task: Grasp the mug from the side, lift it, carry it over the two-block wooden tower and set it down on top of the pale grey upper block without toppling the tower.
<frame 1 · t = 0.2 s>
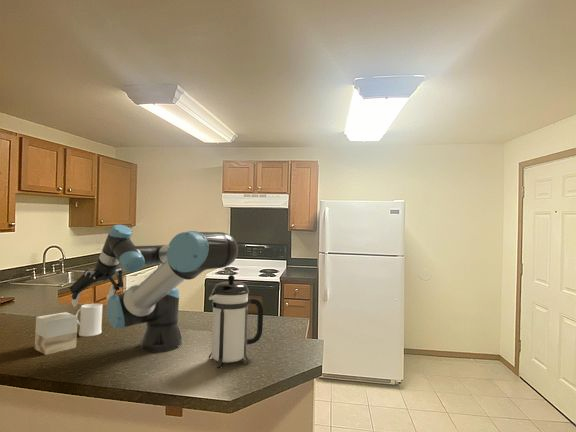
hand: (91, 302, 137), 15 cm above the counter, tool tilted 35°, fingers open, 13 cm apart
coffee press: (231, 360, 118), on the counter
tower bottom: (55, 348, 126), on the counter, touching tower top
mug: (87, 333, 144), on the counter
tower top: (56, 332, 126), point 6 cm above the counter, touching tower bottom
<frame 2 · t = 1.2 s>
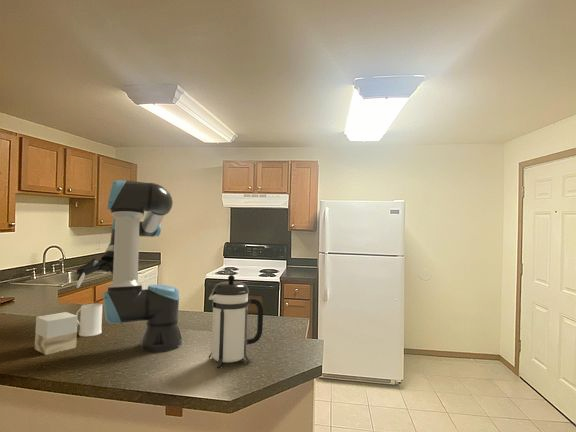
hand: (95, 288, 142), 20 cm above the counter, tool tilted 55°, fingers open, 13 cm apart
nothing on the counter moved.
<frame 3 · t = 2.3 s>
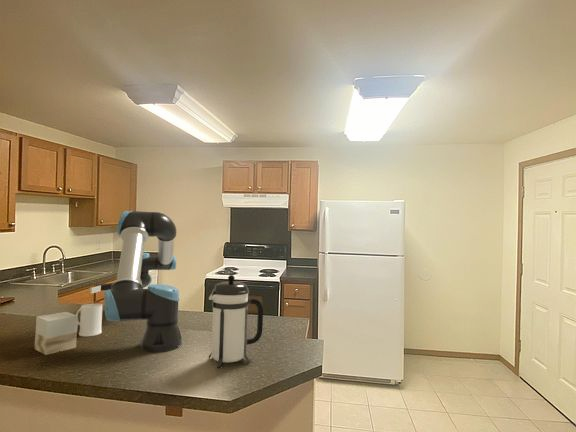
hand: (104, 291, 155), 16 cm above the counter, tool horizontal, fingers open, 13 cm apart
nothing on the counter moved.
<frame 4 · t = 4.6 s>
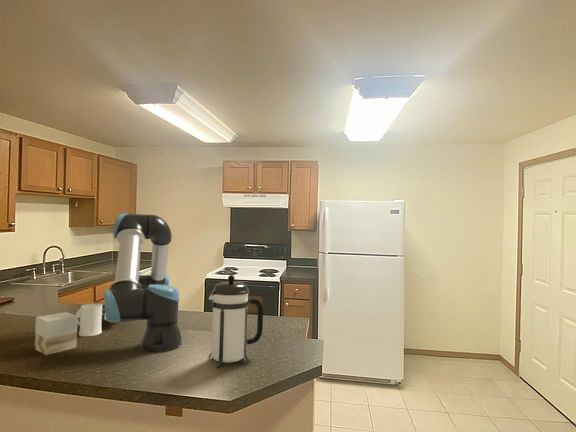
hand: (90, 315, 147), 7 cm above the counter, tool horizontal, fingers open, 13 cm apart
nothing on the counter moved.
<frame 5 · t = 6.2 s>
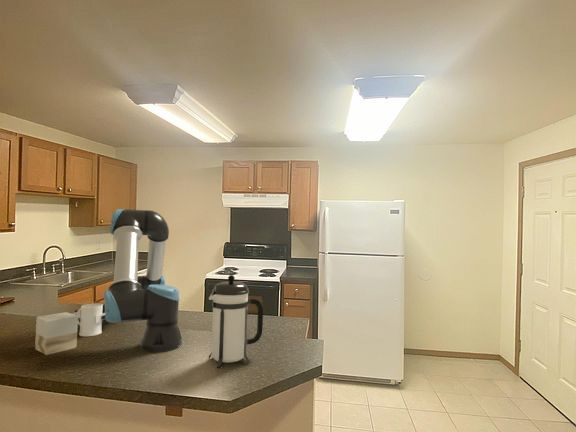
hand: (81, 318, 141), 7 cm above the counter, tool horizontal, fingers closed on mug, 11 cm apart
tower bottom: (55, 348, 126), on the counter
mug: (87, 333, 144), on the counter, touching gripper
tower top: (56, 332, 126), point 6 cm above the counter
everything else where it was.
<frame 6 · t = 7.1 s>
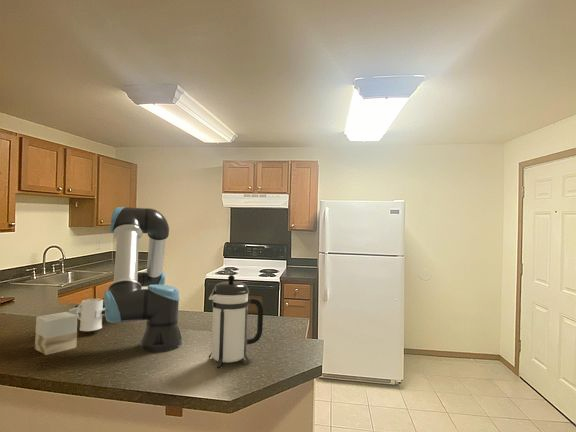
hand: (82, 313, 141), 9 cm above the counter, tool horizontal, fingers closed on mug, 11 cm apart
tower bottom: (55, 348, 126), on the counter, touching tower top
mug: (87, 328, 145), point 2 cm above the counter, touching gripper
tower top: (56, 332, 126), point 6 cm above the counter, touching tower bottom
everything else where it was.
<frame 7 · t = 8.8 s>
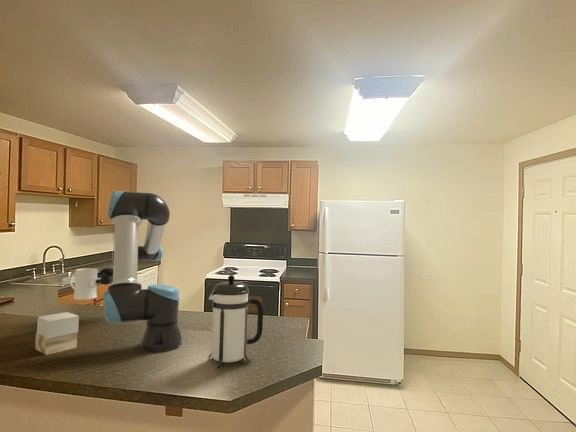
hand: (75, 282, 138), 23 cm above the counter, tool horizontal, fingers closed on mug, 11 cm apart
mug: (82, 298, 141), point 16 cm above the counter, touching gripper
everything else where it was.
when the fingers open (20 cm above the counter, at t = 11.0 s): mug drops 2 cm, resting on tower top.
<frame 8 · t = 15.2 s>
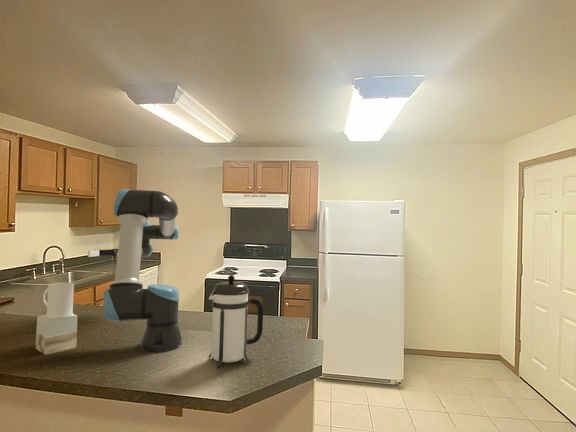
hand: (102, 254, 147), 34 cm above the counter, tool horizontal, fingers open, 13 cm apart
mug: (56, 316, 127), point 12 cm above the counter, touching tower top
tower top: (56, 331, 126), point 6 cm above the counter, touching mug, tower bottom
everything else where it was.
at the end: mug inside the target area on the tower top (0.5 cm from its centre), point 5.8 cm above the tower top's base; mug tilted 1°; tower top tilted 0° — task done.
